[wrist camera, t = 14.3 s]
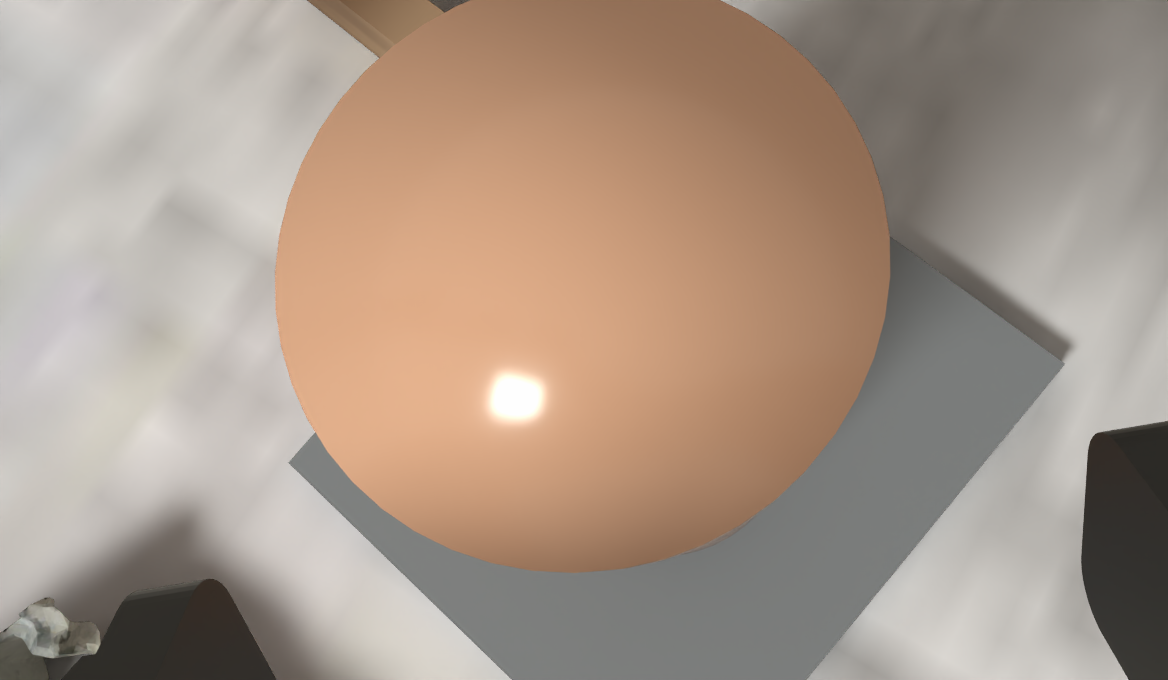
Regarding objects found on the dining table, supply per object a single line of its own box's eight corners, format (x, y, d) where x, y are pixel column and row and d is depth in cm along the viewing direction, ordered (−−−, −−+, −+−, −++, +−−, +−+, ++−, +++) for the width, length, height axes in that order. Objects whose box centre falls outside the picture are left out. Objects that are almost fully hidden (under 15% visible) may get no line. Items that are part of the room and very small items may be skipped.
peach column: (827, 542, 20) (957, 516, 8) (542, 586, 21) (300, 617, 9) (756, 187, 22) (783, -236, 10) (495, 237, 22) (242, -109, 11)
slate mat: (297, 465, 23) (288, 462, 22) (648, 69, 23) (647, 59, 23) (677, 832, 20) (675, 838, 19) (1057, 368, 21) (1064, 363, 20)
